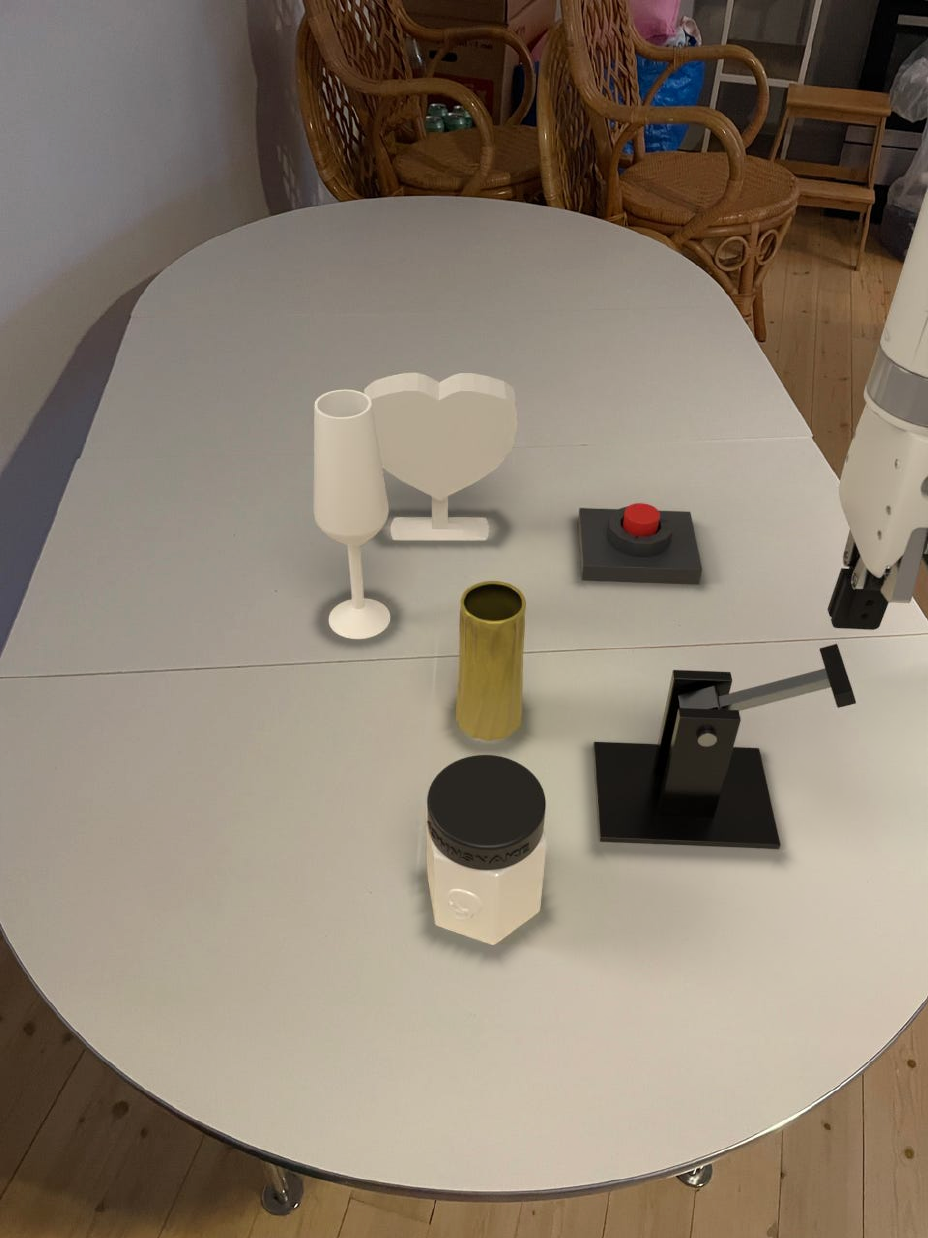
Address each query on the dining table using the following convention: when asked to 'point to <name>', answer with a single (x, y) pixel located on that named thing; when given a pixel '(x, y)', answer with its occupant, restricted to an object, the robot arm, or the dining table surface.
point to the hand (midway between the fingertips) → (852, 620)
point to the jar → (485, 846)
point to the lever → (780, 688)
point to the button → (641, 519)
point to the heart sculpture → (442, 442)
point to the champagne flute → (350, 498)
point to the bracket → (686, 779)
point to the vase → (491, 660)
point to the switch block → (637, 549)
